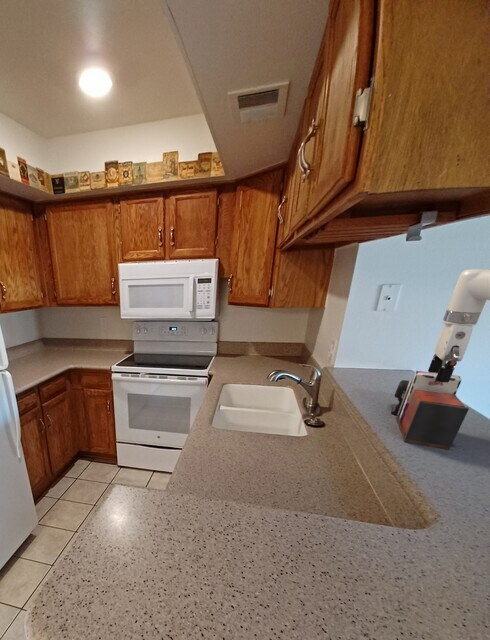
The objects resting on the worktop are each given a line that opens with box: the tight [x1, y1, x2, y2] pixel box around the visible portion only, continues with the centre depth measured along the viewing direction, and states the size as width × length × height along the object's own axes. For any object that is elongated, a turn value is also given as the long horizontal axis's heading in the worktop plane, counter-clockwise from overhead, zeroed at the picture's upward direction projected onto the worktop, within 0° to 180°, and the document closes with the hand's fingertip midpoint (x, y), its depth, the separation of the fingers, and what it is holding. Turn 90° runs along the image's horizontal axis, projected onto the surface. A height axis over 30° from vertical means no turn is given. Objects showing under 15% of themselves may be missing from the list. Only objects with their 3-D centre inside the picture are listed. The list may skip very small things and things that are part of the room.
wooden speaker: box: [395, 389, 470, 451], centre depth 100 cm, size 11×18×13 cm, turn 155°
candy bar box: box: [399, 370, 463, 422], centre depth 103 cm, size 11×5×16 cm, turn 58°
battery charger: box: [390, 379, 413, 416], centre depth 114 cm, size 7×4×11 cm, turn 142°
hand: (437, 376), depth 100 cm, fingers open, 9 cm apart
